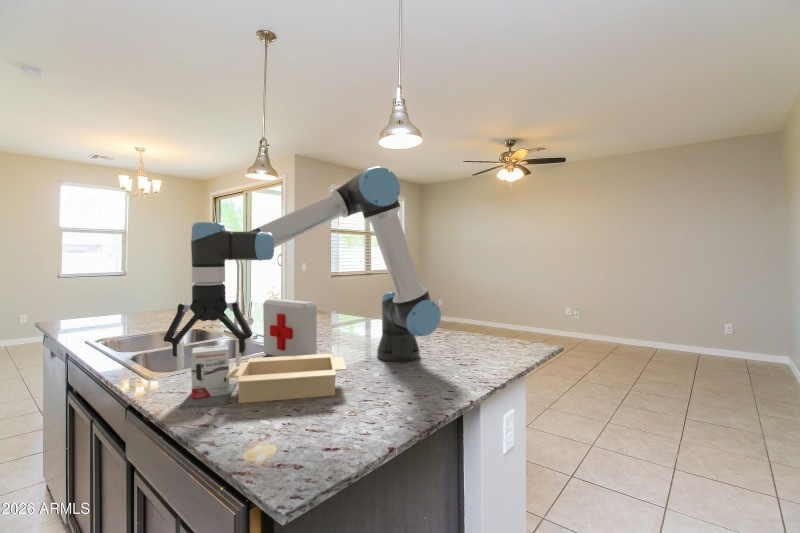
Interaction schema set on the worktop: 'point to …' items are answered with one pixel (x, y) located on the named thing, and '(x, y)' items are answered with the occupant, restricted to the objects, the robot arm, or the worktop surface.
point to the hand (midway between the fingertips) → (210, 367)
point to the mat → (208, 399)
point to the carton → (286, 377)
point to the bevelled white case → (289, 327)
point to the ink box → (209, 371)
